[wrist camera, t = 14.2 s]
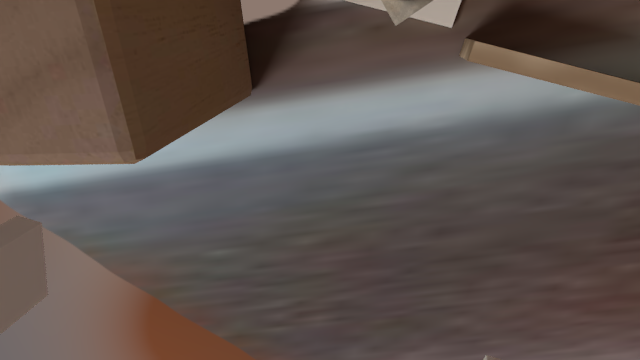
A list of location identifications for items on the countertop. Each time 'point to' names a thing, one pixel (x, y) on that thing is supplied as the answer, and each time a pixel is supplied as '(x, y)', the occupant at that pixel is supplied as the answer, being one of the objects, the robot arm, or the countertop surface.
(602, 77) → the open wooden frame
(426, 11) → the trivet
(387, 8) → the condiment
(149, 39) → the block
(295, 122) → the countertop surface
